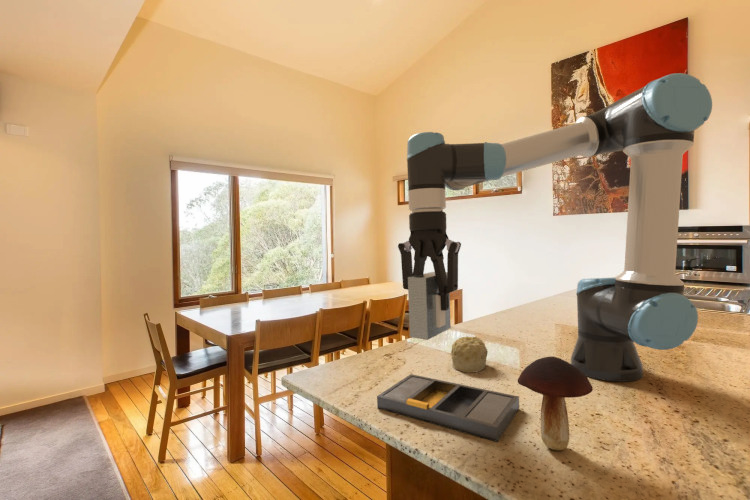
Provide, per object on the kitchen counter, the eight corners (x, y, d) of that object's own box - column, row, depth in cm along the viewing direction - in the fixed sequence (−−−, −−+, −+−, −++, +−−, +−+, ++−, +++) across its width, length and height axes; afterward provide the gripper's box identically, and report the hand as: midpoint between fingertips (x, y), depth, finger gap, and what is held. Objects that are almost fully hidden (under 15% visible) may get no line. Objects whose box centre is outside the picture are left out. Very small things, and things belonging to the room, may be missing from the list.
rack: (519, 408, 75) (518, 392, 75) (496, 442, 64) (496, 423, 63) (411, 384, 89) (410, 370, 89) (377, 408, 78) (376, 392, 78)
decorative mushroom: (508, 433, 66) (506, 349, 65) (568, 428, 67) (566, 345, 66) (541, 472, 55) (538, 372, 55) (611, 465, 56) (609, 366, 55)
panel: (450, 327, 81) (449, 272, 80) (427, 339, 72) (425, 278, 72) (433, 325, 83) (432, 271, 83) (409, 337, 75) (407, 277, 74)
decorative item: (475, 387, 95) (498, 357, 94) (442, 364, 96) (465, 333, 95) (472, 374, 104) (494, 346, 103) (443, 352, 106) (464, 324, 104)
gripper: (474, 209, 75) (477, 325, 76) (401, 214, 85) (404, 316, 86) (459, 207, 69) (462, 334, 70) (382, 213, 79) (386, 323, 80)
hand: (430, 324), depth 78 cm, fingers closed on panel, 4 cm apart
